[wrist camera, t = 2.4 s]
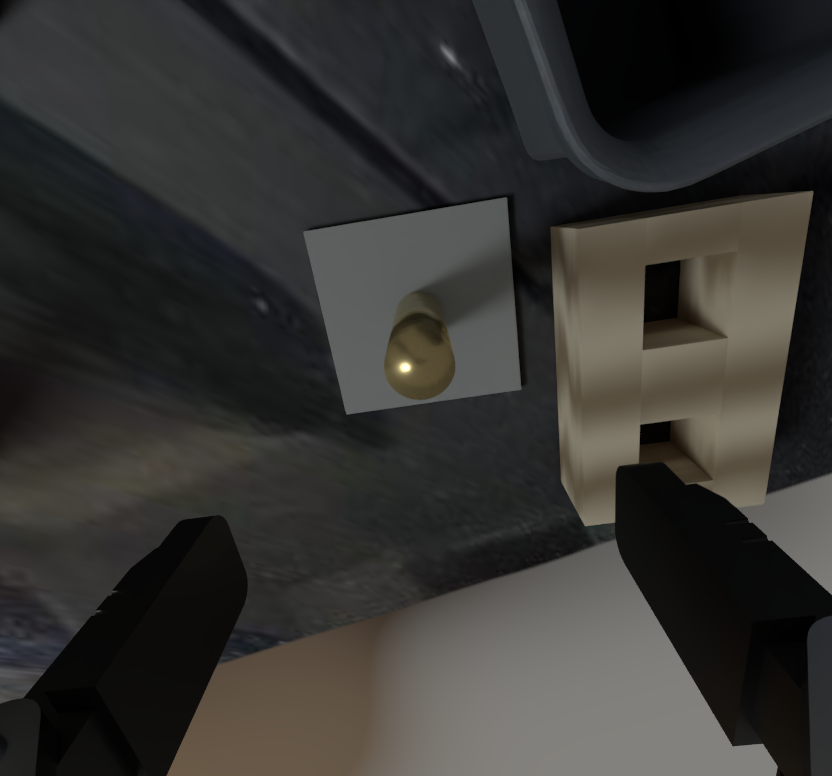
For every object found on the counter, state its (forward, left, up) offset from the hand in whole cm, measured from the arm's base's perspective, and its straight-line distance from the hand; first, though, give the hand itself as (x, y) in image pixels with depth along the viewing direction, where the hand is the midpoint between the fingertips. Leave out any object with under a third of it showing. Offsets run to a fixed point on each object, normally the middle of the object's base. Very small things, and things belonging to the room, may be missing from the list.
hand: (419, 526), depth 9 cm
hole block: (+5, +14, -21) cm, 25 cm away
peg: (0, 0, -20) cm, 20 cm away
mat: (0, 0, -21) cm, 21 cm away
